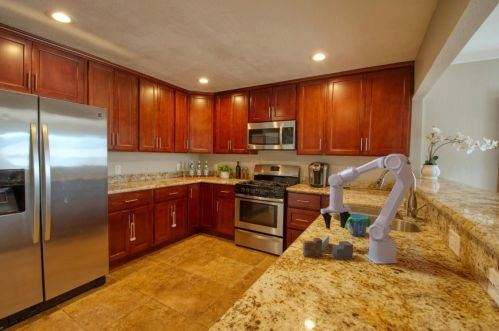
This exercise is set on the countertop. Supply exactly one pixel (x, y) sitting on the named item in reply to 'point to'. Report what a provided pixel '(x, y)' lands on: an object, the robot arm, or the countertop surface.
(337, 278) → the countertop surface
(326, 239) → the pale grey bar
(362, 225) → the snack cup
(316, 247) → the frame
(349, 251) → the stepped block
